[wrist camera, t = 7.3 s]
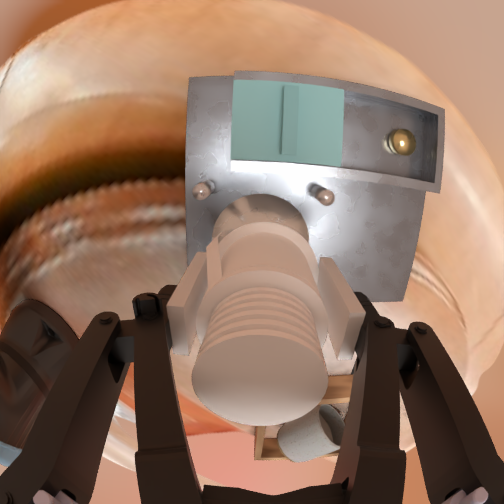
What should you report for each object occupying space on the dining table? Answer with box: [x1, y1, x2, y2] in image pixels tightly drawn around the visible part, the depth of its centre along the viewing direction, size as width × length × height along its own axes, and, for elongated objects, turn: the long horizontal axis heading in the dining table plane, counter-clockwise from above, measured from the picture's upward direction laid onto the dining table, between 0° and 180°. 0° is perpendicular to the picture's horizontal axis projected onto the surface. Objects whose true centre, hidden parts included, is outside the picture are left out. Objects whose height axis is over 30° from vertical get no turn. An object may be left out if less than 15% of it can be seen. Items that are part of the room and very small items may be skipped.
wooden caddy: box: [254, 375, 353, 460], centre depth 33 cm, size 15×17×4 cm
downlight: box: [192, 222, 328, 426], centre depth 13 cm, size 8×7×10 cm
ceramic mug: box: [277, 404, 345, 462], centre depth 32 cm, size 11×8×8 cm
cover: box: [230, 80, 344, 167], centre depth 18 cm, size 8×6×2 cm
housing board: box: [185, 71, 445, 302], centre depth 22 cm, size 22×20×5 cm
